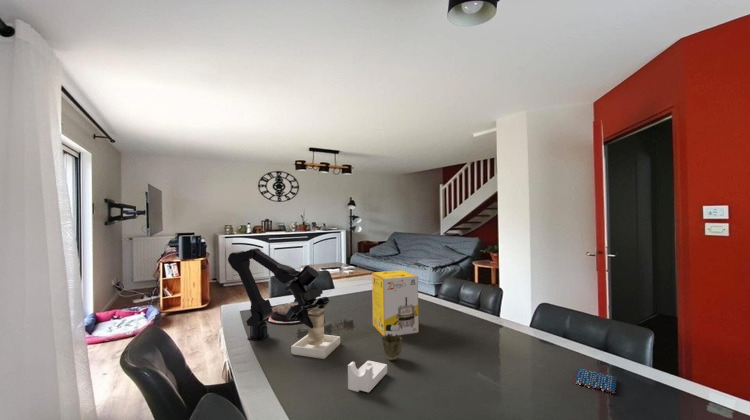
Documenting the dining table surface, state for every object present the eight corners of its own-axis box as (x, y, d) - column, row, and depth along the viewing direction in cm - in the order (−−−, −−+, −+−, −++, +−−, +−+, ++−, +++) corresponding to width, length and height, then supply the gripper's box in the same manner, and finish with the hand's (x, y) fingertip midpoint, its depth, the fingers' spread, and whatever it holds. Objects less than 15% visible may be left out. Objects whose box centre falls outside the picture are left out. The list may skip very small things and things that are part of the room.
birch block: (308, 344, 124) (307, 311, 124) (314, 340, 128) (313, 307, 128) (318, 346, 122) (318, 312, 122) (324, 341, 127) (323, 308, 127)
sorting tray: (291, 354, 121) (291, 346, 121) (310, 339, 134) (309, 332, 134) (324, 358, 116) (324, 350, 116) (340, 343, 130) (340, 336, 130)
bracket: (368, 395, 93) (368, 369, 93) (348, 390, 96) (347, 365, 96) (387, 375, 105) (386, 352, 105) (368, 370, 108) (367, 348, 108)
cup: (404, 356, 118) (404, 334, 118) (399, 365, 111) (399, 342, 111) (385, 353, 120) (385, 332, 120) (379, 362, 113) (379, 339, 113)
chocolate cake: (279, 307, 183) (279, 296, 183) (326, 309, 179) (326, 297, 179) (254, 324, 155) (254, 311, 155) (309, 326, 151) (309, 313, 151)
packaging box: (404, 320, 156) (403, 270, 157) (418, 332, 141) (417, 276, 141) (372, 324, 151) (372, 272, 152) (384, 337, 136) (383, 279, 136)
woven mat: (576, 372, 105) (576, 366, 105) (617, 382, 99) (616, 376, 99) (572, 386, 97) (572, 379, 97) (615, 398, 91) (615, 391, 91)
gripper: (290, 285, 121) (309, 320, 114) (326, 277, 135) (345, 308, 128) (277, 302, 125) (295, 337, 119) (314, 293, 140) (332, 323, 133)
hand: (318, 325), depth 125 cm, fingers closed on birch block, 6 cm apart
